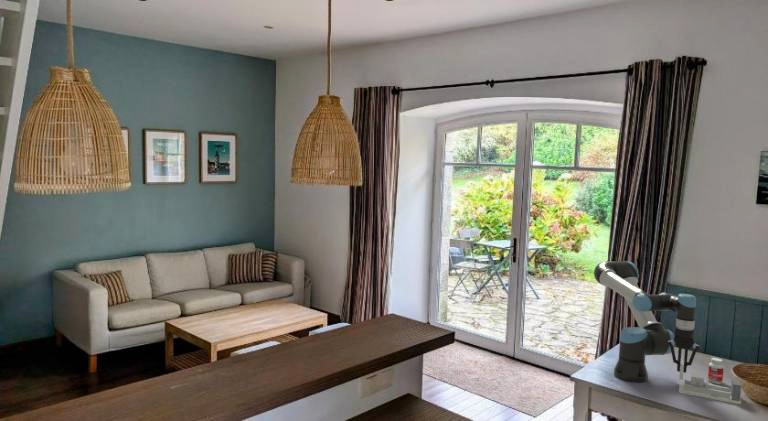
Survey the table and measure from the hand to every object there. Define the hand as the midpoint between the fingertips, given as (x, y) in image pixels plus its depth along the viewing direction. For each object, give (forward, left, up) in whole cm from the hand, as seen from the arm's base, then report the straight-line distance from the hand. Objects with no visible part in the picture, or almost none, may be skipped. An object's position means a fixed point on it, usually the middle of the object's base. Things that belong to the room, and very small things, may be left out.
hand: (681, 378), depth 262 cm
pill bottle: (+14, +20, -5) cm, 25 cm away
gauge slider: (+7, -1, -3) cm, 8 cm away
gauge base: (+11, 0, -5) cm, 13 cm away
